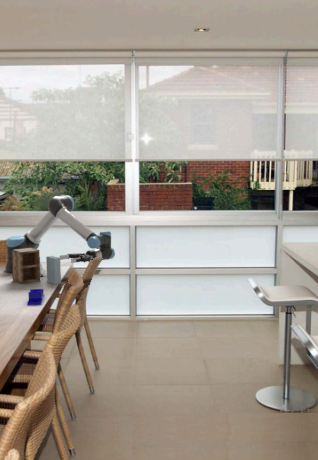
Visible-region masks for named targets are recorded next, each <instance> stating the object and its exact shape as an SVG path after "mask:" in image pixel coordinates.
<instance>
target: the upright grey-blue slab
mask: <svg viewBox="0 0 318 460" xmlns="http://www.w3.org/2000/svg"><path fill="white" fill-rule="evenodd" d="M45 258H46V259H45V260H46V282H48V283H50V284H53V285H58V284H60V285H61V284H62V280H61V279H62V277H61V276H62V274H61V270H62V269H61V260H60V257H58V256H53V255H49V256H46V257H45Z"/></svg>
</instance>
